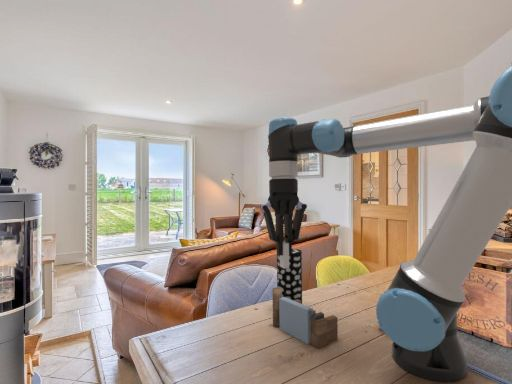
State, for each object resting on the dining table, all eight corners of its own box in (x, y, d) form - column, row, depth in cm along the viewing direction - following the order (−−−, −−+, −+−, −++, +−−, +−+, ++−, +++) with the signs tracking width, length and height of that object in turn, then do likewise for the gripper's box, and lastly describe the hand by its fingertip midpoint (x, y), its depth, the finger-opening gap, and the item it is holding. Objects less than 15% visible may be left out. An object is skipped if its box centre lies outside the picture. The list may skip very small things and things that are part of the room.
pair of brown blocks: (339, 340, 81) (339, 299, 80) (309, 351, 75) (309, 308, 75) (298, 316, 95) (298, 282, 95) (271, 325, 90) (270, 288, 90)
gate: (279, 329, 87) (279, 298, 87) (284, 327, 89) (284, 296, 88) (312, 346, 77) (311, 312, 77) (317, 344, 79) (317, 310, 79)
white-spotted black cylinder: (301, 316, 96) (301, 254, 96) (275, 314, 97) (275, 253, 97) (302, 306, 104) (302, 248, 104) (279, 304, 106) (278, 248, 105)
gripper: (298, 178, 85) (299, 261, 85) (255, 178, 81) (256, 266, 81) (312, 177, 78) (313, 268, 78) (265, 177, 73) (266, 273, 74)
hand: (284, 266), depth 79 cm, fingers closed
